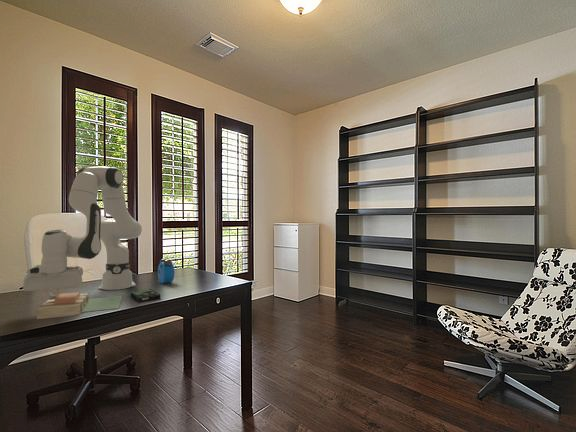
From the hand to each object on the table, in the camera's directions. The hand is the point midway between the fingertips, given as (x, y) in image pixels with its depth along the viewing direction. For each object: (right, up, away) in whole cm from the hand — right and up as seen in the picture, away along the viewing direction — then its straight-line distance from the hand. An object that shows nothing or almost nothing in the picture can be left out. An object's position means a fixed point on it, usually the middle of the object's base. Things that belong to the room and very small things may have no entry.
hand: (53, 299), depth 129 cm
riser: (+4, -5, +2) cm, 6 cm away
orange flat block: (+5, -1, +2) cm, 5 cm away
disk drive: (+29, -6, +23) cm, 37 cm away
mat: (+15, -5, +10) cm, 19 cm away
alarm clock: (+25, -6, +56) cm, 62 cm away
